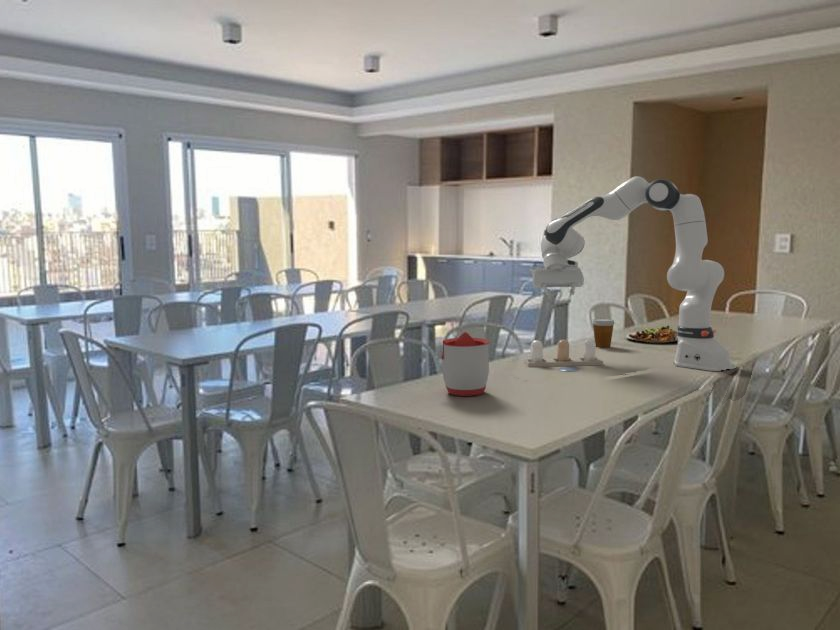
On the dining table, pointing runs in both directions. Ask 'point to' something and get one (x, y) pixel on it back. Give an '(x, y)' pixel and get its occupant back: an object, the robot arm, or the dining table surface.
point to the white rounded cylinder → (589, 350)
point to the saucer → (568, 369)
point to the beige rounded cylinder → (562, 351)
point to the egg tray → (568, 363)
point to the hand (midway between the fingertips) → (560, 294)
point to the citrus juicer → (465, 365)
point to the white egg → (536, 351)
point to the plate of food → (654, 335)
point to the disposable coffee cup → (603, 332)
